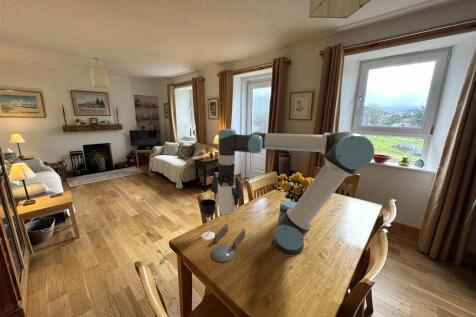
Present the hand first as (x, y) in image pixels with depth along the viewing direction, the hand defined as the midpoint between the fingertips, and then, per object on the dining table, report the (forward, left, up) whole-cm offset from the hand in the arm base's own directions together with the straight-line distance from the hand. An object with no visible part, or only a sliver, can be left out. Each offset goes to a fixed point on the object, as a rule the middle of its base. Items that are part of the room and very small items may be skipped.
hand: (225, 208), depth 92 cm
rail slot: (+1, -6, -22) cm, 23 cm away
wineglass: (+13, -4, -22) cm, 26 cm away
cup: (0, 0, -3) cm, 3 cm away
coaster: (-1, +5, -22) cm, 22 cm away
